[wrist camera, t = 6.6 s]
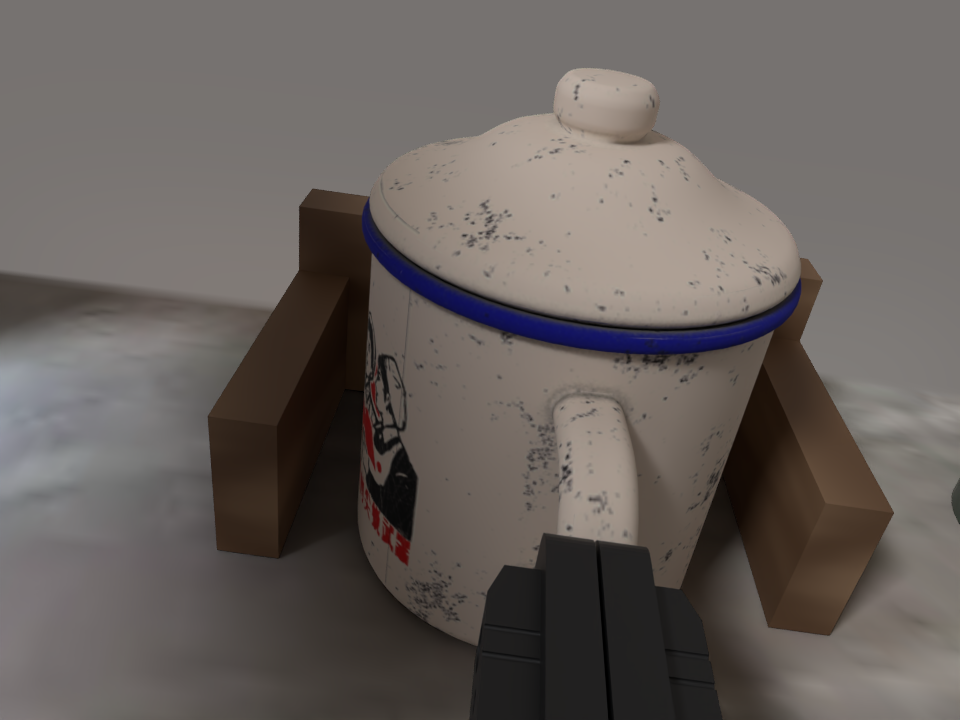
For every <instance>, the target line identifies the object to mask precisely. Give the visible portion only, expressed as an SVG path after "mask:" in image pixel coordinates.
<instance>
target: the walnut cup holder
mask: <svg viewBox="0 0 960 720" xmlns="http://www.w3.org/2000/svg"><path fill="white" fill-rule="evenodd" d="M368 198H369V197H367V196H360V195H353V194H345V193H339V192H332V191H325V190H318V189H312V190H311V192H310V193H309V194H308V195H307V197H306V198H305V200H304V201H303V202H302V204H301V205H300V206H299V271H298V273H297V274H296V276H295V278H294V279H293V281H292V282H291V284H290V286H289V287H288V289H287V290H286V292H285V294H284V295H283V297H282V298H281V300H280V302H279V303H278V305H277V306H276V308H275V310H274V311H273V313H272V314H271V316H270V318H269V319H268V321H267V322H266V324H265V326H264V327H263V329H262V330H261V332H260V334H259V335H258V337H257V338H256V340H255V342H254V343H253V345H252V346H251V348H250V350H249V351H248V353H247V354H246V356H245V358H244V359H243V361H242V362H241V364H240V366H239V367H238V369H237V370H236V372H235V374H234V375H233V377H232V378H231V380H230V382H229V383H228V385H227V386H226V388H225V390H224V391H223V393H222V394H221V396H220V398H219V399H218V401H217V402H216V404H215V406H214V407H213V409H212V410H211V412H210V414H209V415H208V427H209V441H210V455H211V469H212V484H213V498H214V512H215V526H216V541H217V550H223V551H230V552H237V553H244V554H251V555H258V556H265V557H273V558H279V556H280V553H281V551H282V548H283V546H284V543H285V541H286V538H287V535H288V533H289V530H290V528H291V525H292V523H293V520H294V518H295V515H296V512H297V510H298V507H299V505H300V502H301V500H302V497H303V494H304V492H305V489H306V487H307V484H308V482H309V479H310V477H311V474H312V471H313V469H314V466H315V464H316V461H317V459H318V456H319V454H320V451H321V448H322V446H323V443H324V441H325V438H326V436H327V433H328V431H329V428H330V425H331V423H332V420H333V418H334V415H335V413H336V410H337V407H338V405H339V402H340V400H341V397H342V395H343V392H344V390H345V389H350V390H357V391H364V386H365V368H366V350H367V332H368V314H369V296H370V279H371V261H372V252H371V251H370V249H369V247H368V245H367V243H366V241H365V238H364V235H363V231H362V214H363V209H364V206H365V204H366V202H367V200H368ZM800 261H801V275H800V278H801V295H800V299H799V302H798V305H797V307H796V308H795V310H794V312H793V313H792V315H791V316H790V317H789V318H788V319H787V320H786V321H785V322H784V323H783V324H782V325H781V326H779V327H778V328H776V329H775V330H774V332H773V335H772V337H771V340H770V343H769V346H768V348H767V351H766V354H765V357H764V359H763V362H762V365H761V368H760V370H759V373H758V376H757V379H756V381H755V384H754V387H753V390H752V392H751V395H750V398H749V401H748V403H747V406H746V409H745V412H744V414H743V417H742V420H741V423H740V425H739V428H738V431H737V434H736V436H735V439H734V442H733V445H732V447H731V450H730V453H729V456H728V458H727V461H726V464H725V466H724V469H723V472H722V473H723V477H724V480H725V483H726V487H727V490H728V493H729V497H730V500H731V503H732V507H733V510H734V513H735V517H736V520H737V524H738V527H739V530H740V534H741V537H742V540H743V544H744V547H745V550H746V554H747V557H748V560H749V564H750V567H751V570H752V574H753V577H754V580H755V584H756V587H757V590H758V594H759V597H760V601H761V604H762V607H763V611H764V614H765V617H766V621H767V624H768V627H772V628H780V629H787V630H794V631H801V632H808V633H815V634H822V635H830V633H831V632H832V630H833V628H834V626H835V624H836V622H837V620H838V618H839V616H840V614H841V613H842V611H843V609H844V607H845V605H846V603H847V601H848V599H849V597H850V596H851V594H852V592H853V590H854V588H855V586H856V584H857V582H858V580H859V578H860V577H861V575H862V573H863V571H864V569H865V567H866V565H867V563H868V561H869V560H870V558H871V556H872V554H873V552H874V550H875V548H876V546H877V544H878V542H879V541H880V539H881V537H882V535H883V533H884V531H885V529H886V527H887V525H888V524H889V522H890V520H891V518H892V516H893V514H894V512H893V510H892V508H891V506H890V505H889V503H888V501H887V499H886V497H885V495H884V494H883V492H882V490H881V488H880V486H879V485H878V483H877V481H876V479H875V477H874V475H873V474H872V472H871V470H870V468H869V466H868V465H867V463H866V461H865V459H864V457H863V455H862V454H861V452H860V450H859V448H858V446H857V445H856V443H855V441H854V439H853V437H852V435H851V434H850V432H849V430H848V428H847V426H846V425H845V423H844V421H843V419H842V417H841V415H840V414H839V412H838V410H837V408H836V406H835V405H834V403H833V401H832V399H831V397H830V395H829V394H828V392H827V390H826V388H825V386H824V385H823V383H822V381H821V379H820V377H819V375H818V374H817V372H816V370H815V368H814V366H813V365H812V363H811V361H810V359H809V357H808V355H807V354H806V352H805V350H804V348H803V346H802V345H801V343H800V339H801V336H802V333H803V331H804V328H805V325H806V323H807V321H808V318H809V315H810V313H811V310H812V307H813V305H814V302H815V300H816V297H817V294H818V292H819V289H820V287H821V284H822V282H823V280H822V279H821V277H820V276H819V275H818V273H817V272H816V270H815V269H814V267H813V266H812V264H811V263H810V261H809V260H808V259H804V258H800Z"/></svg>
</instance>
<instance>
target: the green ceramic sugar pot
mask: <svg viewBox="0 0 960 720" xmlns="http://www.w3.org/2000/svg"><path fill="white" fill-rule="evenodd" d="M952 507H953V511H954V514H955V516H956V518H957V520H958V522H959V524H960V479H959V480H958V482H957V484H956V486H955V488H954V490H953V493H952Z"/></svg>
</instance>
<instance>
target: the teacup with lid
mask: <svg viewBox="0 0 960 720" xmlns="http://www.w3.org/2000/svg"><path fill="white" fill-rule="evenodd" d="M659 105H660V100H659V96H658V93H657V90H656V89H655V87H654V85H653V84H651V83H650V82H649V81H647V80H645V79H643V78H641V77H638V76H635V75H631V74H627V73H623V72H618V71H613V70H606V69H596V68H580V69H574V70H571V71H569V72H568V73H566V74H565V75H564V76H563V78H562V79H561V80H560V81H559V83H558V85H557V88H556V93H555V99H554V105H553V108H554V113H548V114H538V115H530V116H524V117H520V118H517V119H514V120H511V121H509V122H506V123H503V124H501V125H499V126H497V127H495V128H493V129H491V130H489V131H487V132H486V133H484V134H482V135H480V136H476V137H465V138H458V139H452V140H446V141H441V142H436V143H432V144H429V145H426V146H422V147H420V148H417V149H415V150H412V151H410V152H408V153H406V154H404V155H402V156H401V157H399V158H397V159H396V160H395V161H394V162H392V163H391V164H390V165H389V166H388V167H387V168H386V169H385V170H384V171H383V172H382V173H381V175H380V176H379V177H378V179H377V181H376V182H375V184H374V186H373V188H372V190H371V194H370V197H369V198H368V200H367V202H366V204H365V206H364V209H363V214H362V231H363V235H364V238H365V241H366V243H367V245H368V247H369V249H370V251H371V252H372V261H371V279H370V296H369V314H368V332H367V350H366V368H365V386H364V404H363V422H362V440H361V458H360V476H359V494H358V527H359V533H360V538H361V542H362V545H363V548H364V551H365V553H366V556H367V558H368V560H369V562H370V564H371V566H372V567H373V569H374V571H375V572H376V574H377V576H378V577H379V579H380V580H381V581H382V583H383V584H384V585H385V587H386V588H387V589H388V590H389V591H390V592H391V593H392V594H393V595H394V596H395V598H396V599H397V600H398V601H399V602H401V603H402V604H403V605H404V606H405V607H406V608H408V609H409V610H410V611H411V612H412V613H414V614H415V615H417V616H418V617H419V618H421V619H422V620H424V621H425V622H427V623H428V624H430V625H432V626H433V627H435V628H437V629H439V630H440V631H442V632H444V633H447V634H449V635H451V636H453V637H455V638H457V639H459V640H462V641H465V642H467V643H470V644H472V645H475V646H478V640H479V635H480V629H481V624H482V618H483V613H484V607H485V602H486V596H487V591H488V589H489V588H490V586H491V585H492V583H493V582H494V580H495V578H496V577H497V575H498V574H499V572H500V571H501V569H502V568H503V566H504V565H510V566H517V567H524V568H531V569H535V564H536V560H537V555H538V551H539V546H540V542H541V538H542V535H543V533H549V534H556V535H563V536H570V537H578V538H585V539H592V540H594V542H595V541H596V540H600V541H607V542H615V543H622V544H629V545H636V546H643V547H647V548H648V550H649V552H650V557H651V563H652V569H653V576H654V583H655V586H660V587H667V588H674V589H680V587H681V585H682V582H683V579H684V576H685V574H686V571H687V568H688V565H689V563H690V560H691V557H692V554H693V552H694V549H695V546H696V543H697V541H698V538H699V535H700V532H701V530H702V527H703V524H704V521H705V519H706V516H707V513H708V510H709V508H710V505H711V502H712V499H713V497H714V494H715V491H716V488H717V486H718V483H719V480H720V477H721V475H722V472H723V469H724V466H725V464H726V461H727V458H728V456H729V453H730V450H731V447H732V445H733V442H734V439H735V436H736V434H737V431H738V428H739V425H740V423H741V420H742V417H743V414H744V412H745V409H746V406H747V403H748V401H749V398H750V395H751V392H752V390H753V387H754V384H755V381H756V379H757V376H758V373H759V370H760V368H761V365H762V362H763V359H764V357H765V354H766V351H767V348H768V346H769V343H770V340H771V337H772V335H773V332H774V330H775V329H776V328H778V327H779V326H781V325H782V324H783V323H784V322H785V321H786V320H787V319H788V318H789V317H790V316H791V315H792V313H793V312H794V310H795V308H796V307H797V305H798V302H799V299H800V295H801V278H800V275H801V261H800V257H799V252H798V249H797V245H796V243H795V241H794V239H793V236H792V235H791V233H790V231H789V230H788V229H787V227H786V226H785V225H784V223H783V222H782V221H781V220H780V219H779V218H778V217H777V216H776V215H775V214H774V213H773V212H772V211H770V210H769V209H768V208H767V207H766V206H764V205H763V204H761V203H760V202H759V201H757V200H756V199H754V198H753V197H751V196H749V195H748V194H746V193H744V192H743V191H741V190H739V189H737V188H735V187H733V186H731V185H730V184H728V183H726V182H723V181H721V180H719V179H717V178H715V177H714V175H713V174H712V173H711V172H710V171H709V170H708V169H707V168H706V167H705V166H704V165H703V163H702V162H701V161H700V160H699V159H698V158H697V157H696V156H695V155H694V154H692V153H691V152H690V151H689V150H688V149H687V148H685V147H684V146H682V145H681V144H679V143H678V142H676V141H674V140H672V139H670V138H668V137H666V136H664V135H662V134H660V133H658V132H656V131H653V130H652V128H653V127H654V125H655V122H656V118H657V113H658V109H659Z"/></svg>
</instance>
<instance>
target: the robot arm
mask: <svg viewBox="0 0 960 720" xmlns="http://www.w3.org/2000/svg"><path fill="white" fill-rule="evenodd" d="M708 656H709V653H708V648H707V643H706V638H705V634H704V629H703V624H702V620H701V619H700V617H699V616H698V614H697V613H696V611H695V610H694V608H693V607H692V605H691V604H690V602H689V601H688V599H687V598H686V596H685V595H684V593H683V592H682V590H681V589H674V588H667V587H660V586H655V583H654V576H653V569H652V563H651V557H650V552H649V550H648V548H647V547H643V546H636V545H629V544H622V543H615V542H607V541H600V540H596V541H595V542H594V540H592V539H585V538H578V537H570V536H563V535H556V534H549V533H543V535H542V538H541V542H540V546H539V551H538V555H537V560H536V564H535V569H531V568H524V567H517V566H510V565H504V566H503V568H502V569H501V571H500V572H499V574H498V575H497V577H496V578H495V580H494V582H493V583H492V585H491V586H490V588H489V589H488V591H487V596H486V602H485V607H484V613H483V618H482V624H481V629H480V635H479V640H478V646H477V651H476V657H475V664H474V675H473V686H472V698H471V707H470V718H469V720H722V715H721V710H720V706H719V701H718V696H717V691H716V690H714V684H715V682H714V677H713V672H712V667H711V662H710V661H708Z"/></svg>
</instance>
